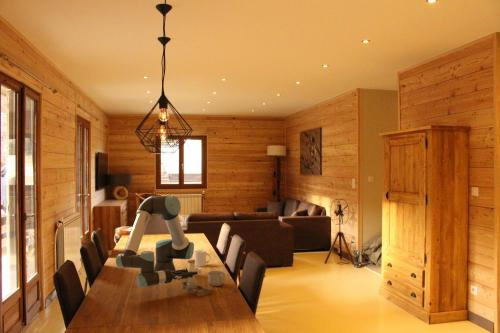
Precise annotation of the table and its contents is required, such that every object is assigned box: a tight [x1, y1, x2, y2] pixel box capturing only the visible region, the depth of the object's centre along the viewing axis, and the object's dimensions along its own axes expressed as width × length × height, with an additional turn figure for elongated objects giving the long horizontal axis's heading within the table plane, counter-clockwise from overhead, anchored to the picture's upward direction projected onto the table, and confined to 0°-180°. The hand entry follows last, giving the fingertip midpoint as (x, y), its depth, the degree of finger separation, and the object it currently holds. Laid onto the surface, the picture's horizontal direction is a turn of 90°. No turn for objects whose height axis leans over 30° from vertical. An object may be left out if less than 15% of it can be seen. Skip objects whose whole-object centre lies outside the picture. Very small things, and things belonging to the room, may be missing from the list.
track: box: [181, 280, 212, 297], centre depth 249 cm, size 20×8×4 cm, turn 36°
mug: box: [193, 249, 212, 268], centre depth 315 cm, size 9×12×11 cm
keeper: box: [186, 259, 199, 288], centre depth 254 cm, size 6×5×16 cm
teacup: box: [207, 270, 226, 287], centre depth 261 cm, size 14×11×8 cm
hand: (199, 271), depth 257 cm, fingers closed on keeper, 4 cm apart
